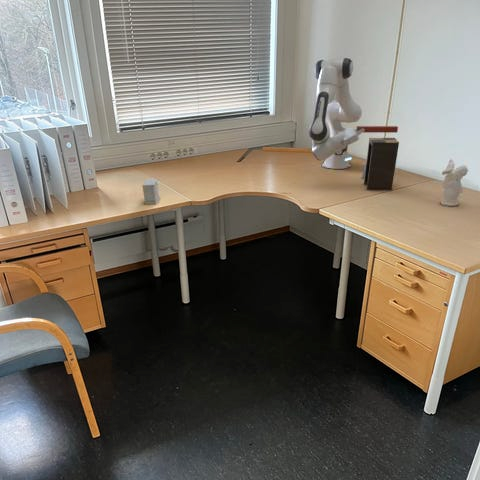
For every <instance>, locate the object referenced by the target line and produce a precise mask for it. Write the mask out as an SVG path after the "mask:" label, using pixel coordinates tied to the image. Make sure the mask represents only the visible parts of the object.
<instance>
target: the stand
mask: <svg viewBox="0 0 480 480" xmlns="http://www.w3.org/2000/svg"><path fill="white" fill-rule="evenodd" d="M399 145H400V142H399V140H398V139H397V138H396V137H369V138H368V146H367V155H366V163H365V164H366V170H365V178H364V179H363V185H364V186H366V190H367V191H392V190H393V184H394V177H395V171H396V165H397V159H398V152H399Z"/></svg>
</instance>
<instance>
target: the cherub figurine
mask: <svg viewBox="0 0 480 480" xmlns="http://www.w3.org/2000/svg"><path fill="white" fill-rule="evenodd" d="M455 166H456V165H455V162H454V160H453V159H452V158H450V159H449V161H448V164H447V166H446V167H445V169H444V170H443V171H441V174H442V175H443V176H444V179H443V181H442V185H441V186H442V188H444V189H443V193H442V196H443V197H442V199H441V201H440V204H441V205H442V206H445V207H446V206H447V207H456V206H458V205H459V202H458V200H459V199H458V198H459V197H460V194H463V192H464V191H463V185H462V181H461V180H462V179H463V177H466V175H467V174H468V172H469V169H468V167H467V166H466V165H465V164H463V165H459V166H457V167H456V168H455Z"/></svg>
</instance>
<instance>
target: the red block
mask: <svg viewBox="0 0 480 480" xmlns="http://www.w3.org/2000/svg"><path fill="white" fill-rule="evenodd" d="M362 128H364V130H365V131H364V132H362V133H361V134H363V133H367V134H368V133H376V134H377V133H378V134H379V133H384V134H385V133H386V134H387V133H391V134H392V133H398V131H399V127H398V126H397V125H357V126H356V128H355V129H356V132H357V131H359V130H360V129H362Z"/></svg>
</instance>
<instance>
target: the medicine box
mask: <svg viewBox="0 0 480 480" xmlns="http://www.w3.org/2000/svg"><path fill="white" fill-rule="evenodd" d="M365 170H366V163H364V164H363V167H362V176H361V179H363V180H364V178H365Z"/></svg>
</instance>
